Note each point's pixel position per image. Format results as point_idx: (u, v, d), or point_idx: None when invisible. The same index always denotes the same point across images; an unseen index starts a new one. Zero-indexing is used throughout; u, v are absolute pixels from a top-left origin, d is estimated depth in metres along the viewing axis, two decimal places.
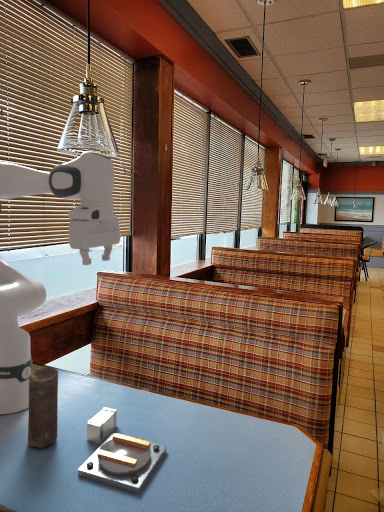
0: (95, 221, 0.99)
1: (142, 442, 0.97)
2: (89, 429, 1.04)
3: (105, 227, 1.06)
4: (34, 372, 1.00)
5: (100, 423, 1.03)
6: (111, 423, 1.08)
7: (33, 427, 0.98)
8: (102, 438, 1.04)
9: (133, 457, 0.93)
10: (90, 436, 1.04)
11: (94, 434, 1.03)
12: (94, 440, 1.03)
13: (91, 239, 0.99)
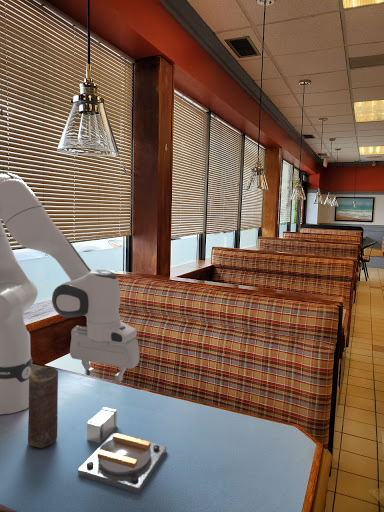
0: None
1: (142, 442, 0.97)
2: (89, 429, 1.04)
3: None
4: (34, 372, 1.00)
5: (100, 423, 1.03)
6: (111, 423, 1.08)
7: (33, 427, 0.98)
8: (102, 438, 1.04)
9: (133, 457, 0.93)
10: (90, 436, 1.04)
11: (94, 434, 1.03)
12: (94, 440, 1.03)
13: None
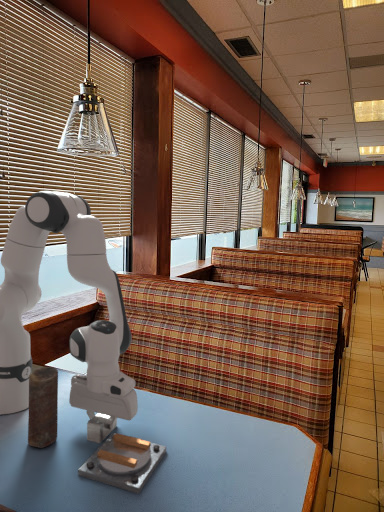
0: None
1: (142, 442, 0.97)
2: (89, 429, 1.04)
3: None
4: (34, 372, 1.00)
5: (100, 423, 1.03)
6: None
7: (33, 427, 0.98)
8: (102, 438, 1.04)
9: (133, 457, 0.93)
10: (90, 436, 1.04)
11: (94, 434, 1.03)
12: (94, 440, 1.03)
13: None
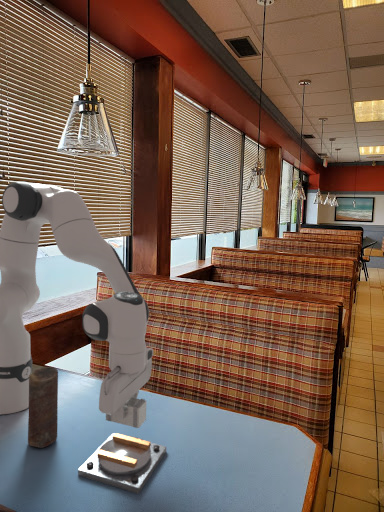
0: None
1: (142, 442, 0.97)
2: (140, 413, 0.92)
3: None
4: (34, 372, 1.00)
5: (142, 400, 0.94)
6: None
7: (33, 427, 0.98)
8: None
9: (133, 457, 0.93)
10: (140, 420, 0.92)
11: (143, 414, 0.93)
12: (143, 421, 0.93)
13: None
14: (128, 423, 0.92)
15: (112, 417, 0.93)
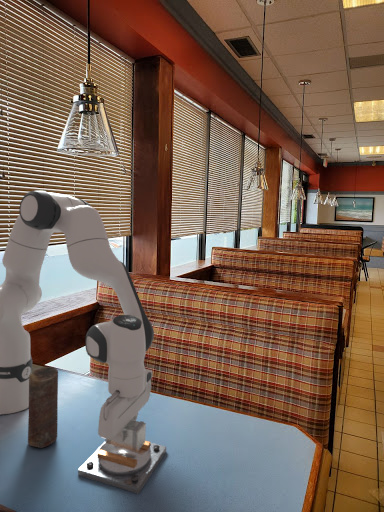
0: None
1: None
2: (139, 437, 0.92)
3: None
4: (34, 372, 1.00)
5: (141, 422, 0.95)
6: None
7: (33, 427, 0.98)
8: None
9: (133, 457, 0.93)
10: (140, 443, 0.93)
11: (142, 437, 0.94)
12: (142, 444, 0.94)
13: None
14: (128, 446, 0.93)
15: (111, 440, 0.94)
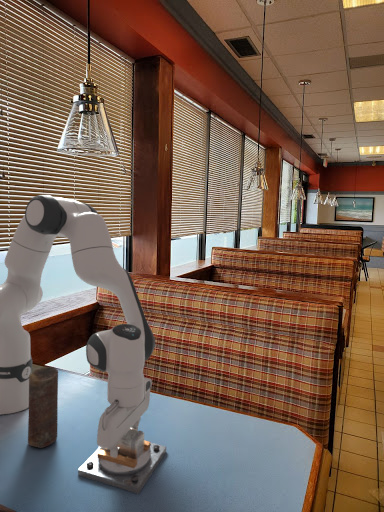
0: None
1: None
2: (138, 446, 0.92)
3: None
4: (34, 372, 1.00)
5: (140, 432, 0.95)
6: None
7: (33, 427, 0.98)
8: None
9: None
10: (138, 453, 0.93)
11: (141, 447, 0.94)
12: (140, 453, 0.94)
13: None
14: (126, 456, 0.93)
15: None
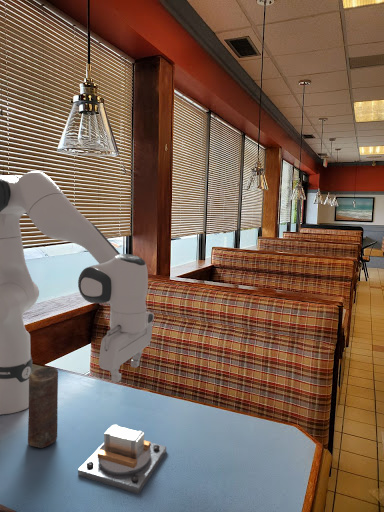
0: None
1: None
2: (138, 446, 0.92)
3: None
4: (34, 372, 1.00)
5: (140, 432, 0.95)
6: None
7: (33, 427, 0.98)
8: None
9: None
10: (138, 453, 0.93)
11: (141, 447, 0.94)
12: (140, 453, 0.94)
13: None
14: (126, 456, 0.93)
15: (110, 449, 0.94)
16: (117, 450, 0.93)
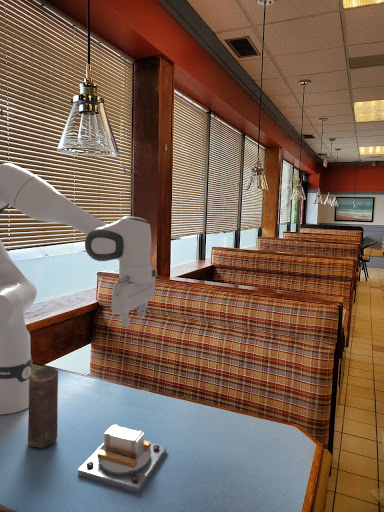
0: None
1: None
2: (138, 446, 0.92)
3: None
4: (34, 372, 1.00)
5: (140, 432, 0.95)
6: None
7: (33, 427, 0.98)
8: None
9: None
10: (138, 453, 0.93)
11: (141, 447, 0.94)
12: (140, 453, 0.94)
13: None
14: (126, 456, 0.93)
15: (110, 449, 0.94)
16: (117, 450, 0.93)
